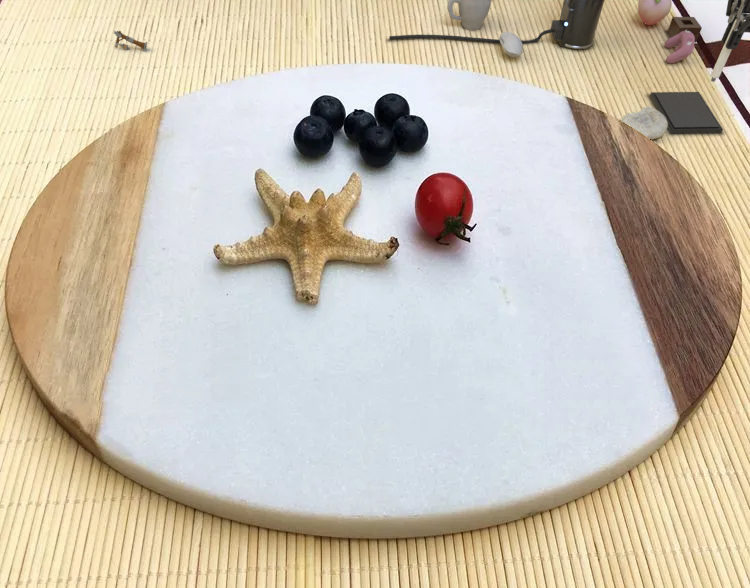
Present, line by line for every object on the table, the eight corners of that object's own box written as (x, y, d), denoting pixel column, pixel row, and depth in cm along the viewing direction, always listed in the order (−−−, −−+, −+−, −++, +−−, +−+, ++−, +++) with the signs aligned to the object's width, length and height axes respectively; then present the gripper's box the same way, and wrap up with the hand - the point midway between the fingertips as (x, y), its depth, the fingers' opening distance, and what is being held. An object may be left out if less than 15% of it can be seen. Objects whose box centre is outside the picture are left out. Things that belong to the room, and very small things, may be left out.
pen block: (674, 42, 180) (680, 27, 177) (667, 31, 184) (672, 16, 181) (696, 42, 181) (702, 27, 177) (688, 31, 184) (694, 16, 181)
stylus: (710, 83, 147) (737, 22, 136) (707, 78, 148) (734, 18, 137) (718, 82, 147) (746, 22, 136) (715, 78, 148) (742, 18, 137)
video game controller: (677, 71, 174) (700, 49, 169) (664, 61, 173) (686, 38, 168) (675, 52, 180) (696, 30, 175) (662, 43, 179) (683, 20, 174)
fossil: (636, 95, 156) (676, 113, 154) (629, 109, 159) (668, 127, 157) (620, 117, 150) (662, 136, 148) (613, 131, 153) (654, 150, 151)
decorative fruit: (667, 33, 183) (681, -5, 175) (637, 32, 183) (650, -6, 175) (658, 17, 189) (672, -21, 181) (630, 16, 189) (642, -22, 181)
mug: (480, 16, 187) (486, -22, 179) (492, 31, 182) (498, -7, 174) (440, 20, 185) (443, -17, 177) (451, 36, 180) (455, -2, 172)
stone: (492, 47, 177) (496, 28, 173) (511, 45, 178) (515, 25, 174) (506, 66, 171) (510, 46, 167) (526, 63, 172) (530, 44, 168)
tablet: (670, 134, 154) (672, 129, 153) (649, 96, 164) (651, 91, 163) (721, 133, 155) (723, 128, 154) (697, 95, 164) (699, 90, 164)
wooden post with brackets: (112, 43, 171) (115, 27, 168) (144, 56, 174) (147, 41, 171) (110, 46, 170) (113, 30, 167) (142, 60, 173) (145, 44, 170)
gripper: (736, -61, 131) (699, 29, 145) (764, -30, 123) (722, 62, 137) (773, -61, 131) (733, 29, 145) (804, -30, 123) (758, 62, 137)
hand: (728, 45), depth 141 cm, fingers closed on stylus, 2 cm apart
